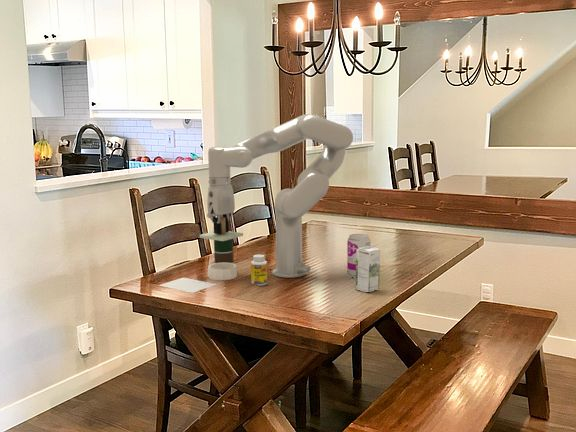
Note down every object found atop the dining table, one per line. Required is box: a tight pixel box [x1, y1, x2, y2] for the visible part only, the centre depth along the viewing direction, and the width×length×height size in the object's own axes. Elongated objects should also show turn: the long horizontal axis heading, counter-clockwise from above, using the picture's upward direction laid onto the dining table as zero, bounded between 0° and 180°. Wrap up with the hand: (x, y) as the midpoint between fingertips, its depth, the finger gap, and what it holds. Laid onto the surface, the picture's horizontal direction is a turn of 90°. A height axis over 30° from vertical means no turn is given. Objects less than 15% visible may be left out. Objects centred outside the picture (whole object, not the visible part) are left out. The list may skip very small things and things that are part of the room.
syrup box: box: [355, 245, 381, 293], centre depth 205 cm, size 6×6×14 cm
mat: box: [158, 277, 217, 294], centre depth 213 cm, size 16×12×1 cm
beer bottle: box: [213, 215, 234, 263], centre depth 244 cm, size 8×8×24 cm
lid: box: [199, 216, 244, 241], centre depth 220 cm, size 11×11×7 cm
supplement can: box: [346, 233, 371, 279], centre depth 222 cm, size 8×8×15 cm
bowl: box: [207, 262, 238, 281], centre depth 223 cm, size 10×10×4 cm
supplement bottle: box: [250, 254, 268, 287], centre depth 214 cm, size 6×6×10 cm
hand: (221, 232), depth 220 cm, fingers closed on lid, 3 cm apart
